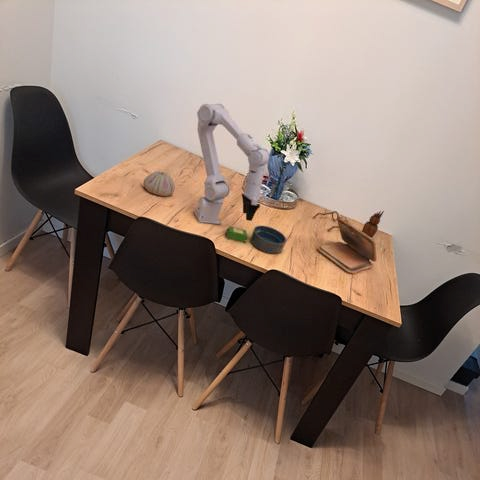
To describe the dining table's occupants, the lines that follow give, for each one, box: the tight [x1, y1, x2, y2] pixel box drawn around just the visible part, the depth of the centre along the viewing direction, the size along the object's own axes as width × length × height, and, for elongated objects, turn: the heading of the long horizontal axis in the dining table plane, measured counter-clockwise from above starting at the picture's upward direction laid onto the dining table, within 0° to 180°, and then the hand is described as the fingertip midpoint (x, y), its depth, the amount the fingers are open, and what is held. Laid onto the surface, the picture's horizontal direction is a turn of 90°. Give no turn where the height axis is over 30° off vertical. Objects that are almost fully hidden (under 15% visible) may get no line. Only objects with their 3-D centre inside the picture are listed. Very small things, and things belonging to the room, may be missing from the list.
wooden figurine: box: [361, 210, 385, 239], centre depth 229 cm, size 7×6×15 cm
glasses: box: [312, 210, 350, 232], centre depth 229 cm, size 13×13×5 cm
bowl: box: [250, 225, 287, 254], centre depth 189 cm, size 14×14×5 cm
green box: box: [225, 225, 249, 243], centre depth 186 cm, size 8×5×3 cm, turn 96°
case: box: [317, 217, 378, 275], centre depth 200 cm, size 20×21×16 cm
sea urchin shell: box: [143, 170, 176, 197], centre depth 196 cm, size 13×14×8 cm
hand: (247, 216), depth 183 cm, fingers open, 7 cm apart
